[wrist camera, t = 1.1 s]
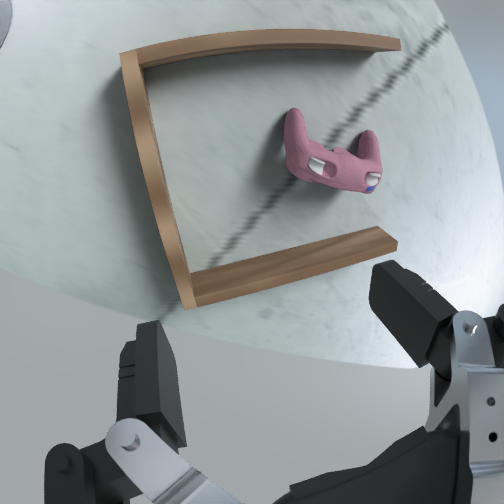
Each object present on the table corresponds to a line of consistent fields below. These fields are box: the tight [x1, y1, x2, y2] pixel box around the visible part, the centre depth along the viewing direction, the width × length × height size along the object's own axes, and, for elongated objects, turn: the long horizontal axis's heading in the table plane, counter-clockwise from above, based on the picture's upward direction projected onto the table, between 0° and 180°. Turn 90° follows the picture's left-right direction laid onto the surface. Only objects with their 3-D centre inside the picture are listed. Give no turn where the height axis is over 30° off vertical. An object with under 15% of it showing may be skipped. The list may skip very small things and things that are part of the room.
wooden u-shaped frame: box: [119, 29, 401, 310], centre depth 25 cm, size 22×23×4 cm
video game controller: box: [284, 108, 382, 194], centre depth 25 cm, size 10×5×7 cm, turn 78°
